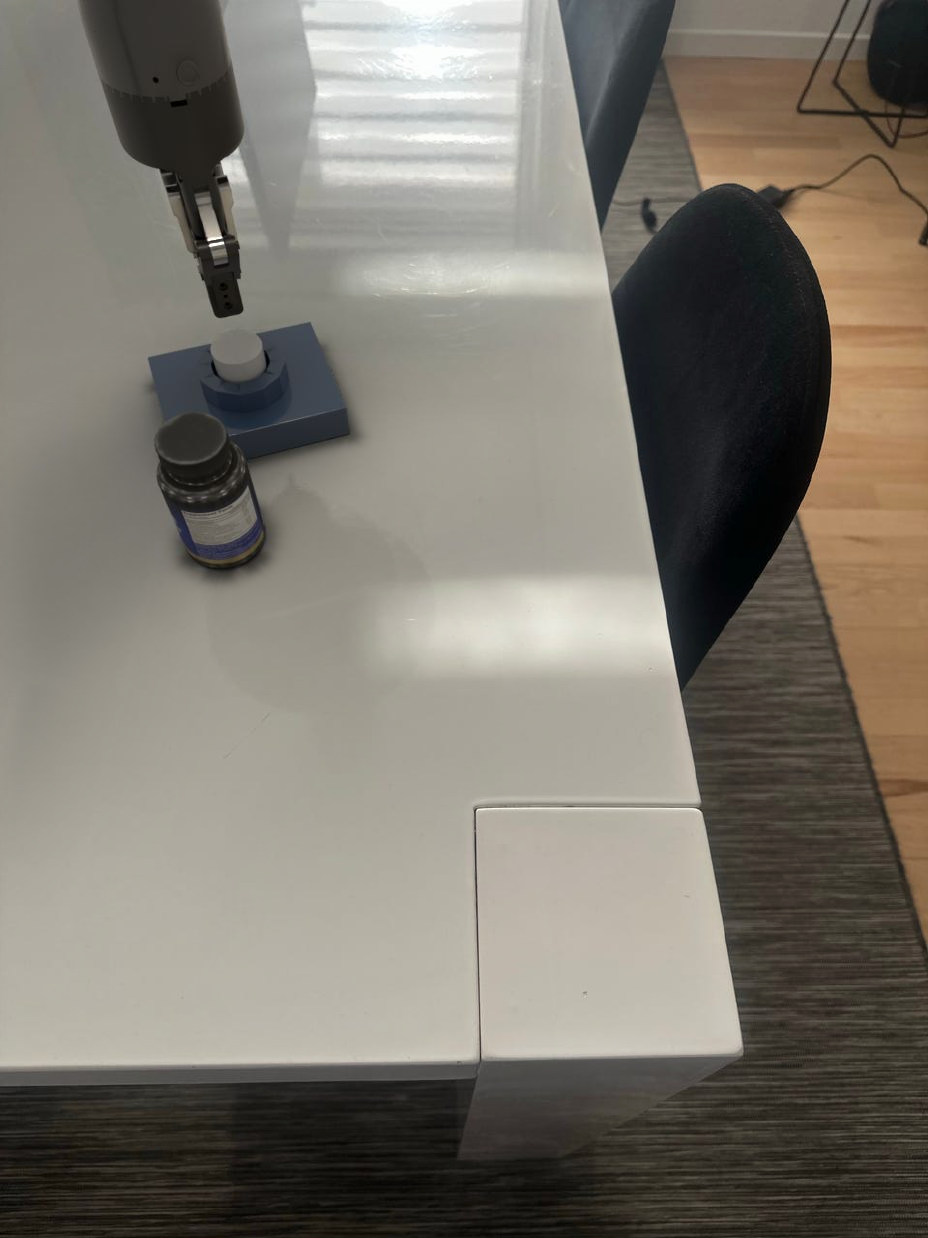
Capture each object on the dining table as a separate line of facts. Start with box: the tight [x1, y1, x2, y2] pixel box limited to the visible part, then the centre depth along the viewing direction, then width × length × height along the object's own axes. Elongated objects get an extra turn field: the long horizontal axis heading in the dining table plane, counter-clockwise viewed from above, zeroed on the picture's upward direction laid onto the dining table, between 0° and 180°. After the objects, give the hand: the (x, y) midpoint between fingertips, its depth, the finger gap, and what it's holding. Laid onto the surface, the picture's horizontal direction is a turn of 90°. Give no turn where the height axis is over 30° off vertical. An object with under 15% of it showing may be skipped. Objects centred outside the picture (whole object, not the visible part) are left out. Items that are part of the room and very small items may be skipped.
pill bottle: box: [153, 412, 266, 569], centre depth 59 cm, size 6×6×11 cm
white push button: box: [210, 329, 267, 383], centre depth 66 cm, size 4×4×2 cm
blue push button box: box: [147, 321, 350, 460], centre depth 69 cm, size 14×11×5 cm
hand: (228, 310), depth 62 cm, fingers closed
